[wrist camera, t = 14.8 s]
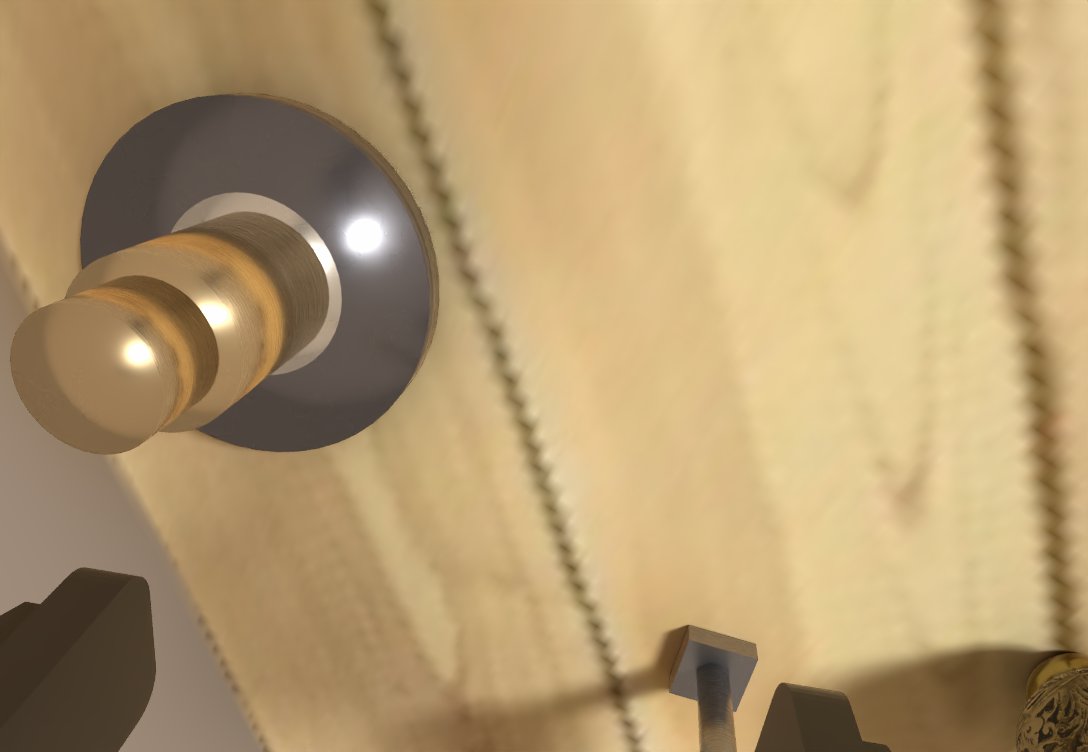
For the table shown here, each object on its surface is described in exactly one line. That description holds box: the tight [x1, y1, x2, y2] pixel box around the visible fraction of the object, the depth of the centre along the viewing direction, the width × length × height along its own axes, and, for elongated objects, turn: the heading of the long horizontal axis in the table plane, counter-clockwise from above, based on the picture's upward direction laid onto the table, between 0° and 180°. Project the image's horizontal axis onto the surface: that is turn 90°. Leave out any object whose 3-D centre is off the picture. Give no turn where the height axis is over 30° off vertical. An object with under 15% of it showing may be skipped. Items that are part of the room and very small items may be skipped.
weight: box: [10, 211, 329, 454], centre depth 27 cm, size 6×6×10 cm
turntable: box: [80, 93, 439, 452], centre depth 32 cm, size 14×14×2 cm
